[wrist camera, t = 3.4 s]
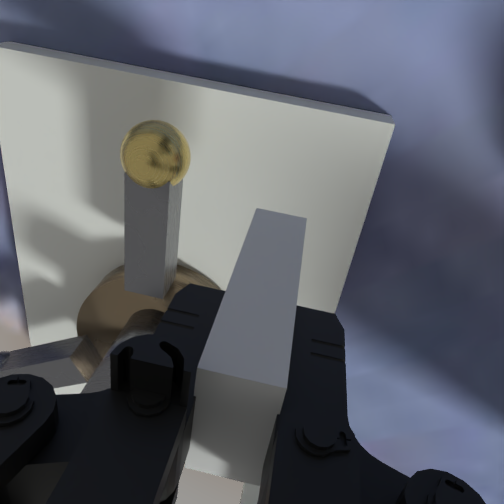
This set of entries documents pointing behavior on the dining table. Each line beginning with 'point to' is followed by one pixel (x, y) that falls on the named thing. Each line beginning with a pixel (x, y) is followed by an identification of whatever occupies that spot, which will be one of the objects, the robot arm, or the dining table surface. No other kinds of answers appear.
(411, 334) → the dining table surface
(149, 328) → the capstan
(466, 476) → the dining table surface
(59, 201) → the stand base
